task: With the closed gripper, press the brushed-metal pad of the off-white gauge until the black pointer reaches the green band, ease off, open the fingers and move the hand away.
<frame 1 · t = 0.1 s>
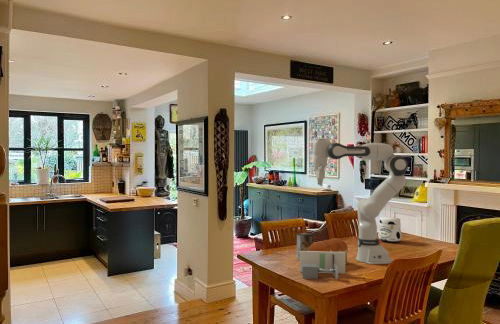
hand: (320, 185, 240), 48 cm above the table, tool pointing down, fingers open, 8 cm apart
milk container: (389, 241, 294), on the table
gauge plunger: (325, 266, 205), point 6 cm above the table, slide at 0.0 cm
gauge housing: (324, 277, 203), on the table
bread: (327, 265, 229), on the table
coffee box: (304, 258, 241), on the table
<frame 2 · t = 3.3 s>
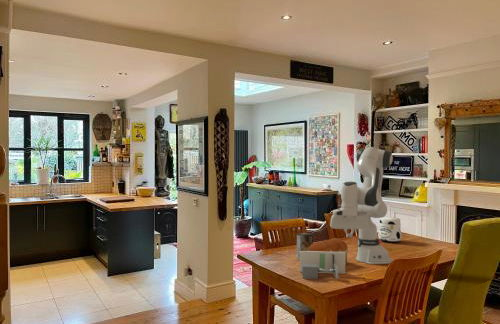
hand: (349, 237, 202), 23 cm above the table, tool pointing down, fingers closed
nothing on the table moved.
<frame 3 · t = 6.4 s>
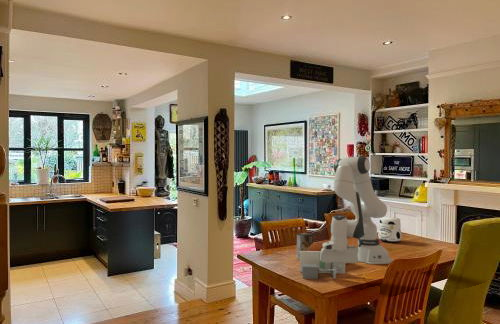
hand: (338, 270, 202), 4 cm above the table, tool pointing down, fingers closed
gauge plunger: (323, 265, 205), point 6 cm above the table, slide at 1.1 cm, touching gripper
everything else where it was.
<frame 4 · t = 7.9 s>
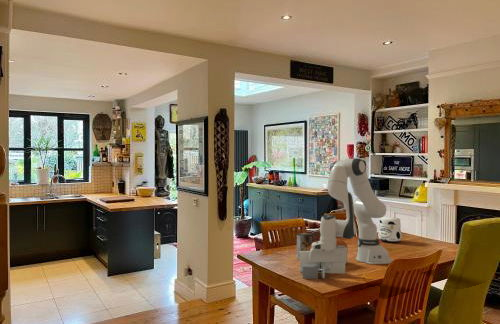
hand: (327, 270, 203), 4 cm above the table, tool pointing down, fingers closed
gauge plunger: (312, 265, 205), point 6 cm above the table, slide at 7.0 cm, touching gripper
everything else where it was.
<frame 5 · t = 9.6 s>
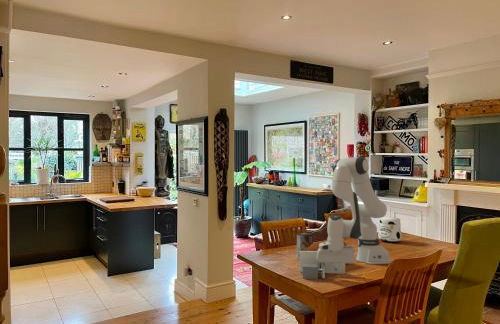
hand: (335, 270, 203), 4 cm above the table, tool pointing down, fingers closed
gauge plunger: (312, 265, 205), point 6 cm above the table, slide at 7.0 cm
everything else where it was.
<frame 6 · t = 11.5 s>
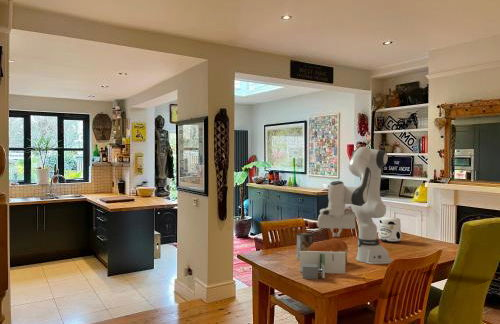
hand: (336, 236, 202), 23 cm above the table, tool pointing down, fingers closed
nothing on the table moved.
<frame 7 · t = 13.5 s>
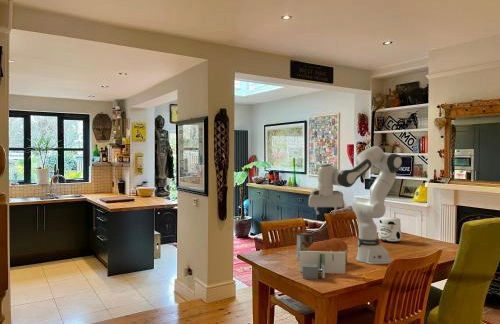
hand: (325, 214, 222), 32 cm above the table, tool pointing down, fingers open, 8 cm apart
nothing on the table moved.
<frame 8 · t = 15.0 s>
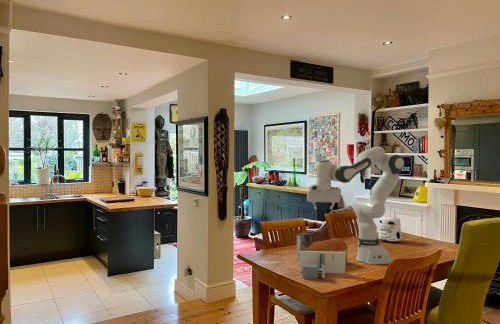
hand: (323, 209, 226), 34 cm above the table, tool pointing down, fingers open, 8 cm apart
nothing on the table moved.
at the end: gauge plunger slide at 7.0 cm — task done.
